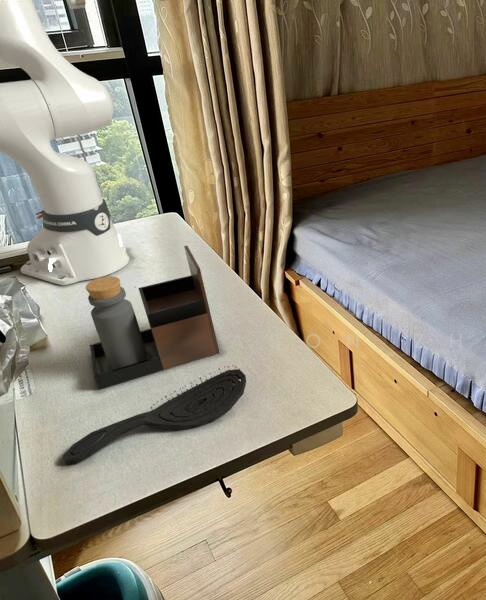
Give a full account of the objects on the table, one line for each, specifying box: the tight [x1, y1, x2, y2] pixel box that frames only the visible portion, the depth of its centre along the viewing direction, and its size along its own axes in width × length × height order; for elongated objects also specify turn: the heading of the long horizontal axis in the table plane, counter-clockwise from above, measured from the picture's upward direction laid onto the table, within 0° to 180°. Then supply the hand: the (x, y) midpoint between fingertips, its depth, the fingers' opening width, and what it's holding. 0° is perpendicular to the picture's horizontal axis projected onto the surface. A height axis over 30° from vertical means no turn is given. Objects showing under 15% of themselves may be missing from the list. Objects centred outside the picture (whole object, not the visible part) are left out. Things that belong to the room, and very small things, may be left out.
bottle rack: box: [89, 245, 220, 391], centre depth 87 cm, size 18×10×16 cm, turn 120°
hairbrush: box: [62, 364, 247, 466], centre depth 76 cm, size 8×4×25 cm
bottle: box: [85, 275, 149, 371], centre depth 86 cm, size 6×6×15 cm
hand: (124, 2), depth 60 cm, fingers open, 8 cm apart
